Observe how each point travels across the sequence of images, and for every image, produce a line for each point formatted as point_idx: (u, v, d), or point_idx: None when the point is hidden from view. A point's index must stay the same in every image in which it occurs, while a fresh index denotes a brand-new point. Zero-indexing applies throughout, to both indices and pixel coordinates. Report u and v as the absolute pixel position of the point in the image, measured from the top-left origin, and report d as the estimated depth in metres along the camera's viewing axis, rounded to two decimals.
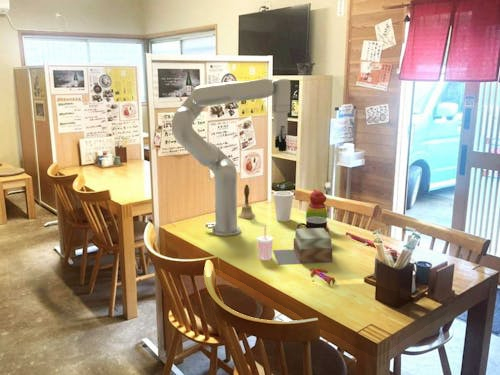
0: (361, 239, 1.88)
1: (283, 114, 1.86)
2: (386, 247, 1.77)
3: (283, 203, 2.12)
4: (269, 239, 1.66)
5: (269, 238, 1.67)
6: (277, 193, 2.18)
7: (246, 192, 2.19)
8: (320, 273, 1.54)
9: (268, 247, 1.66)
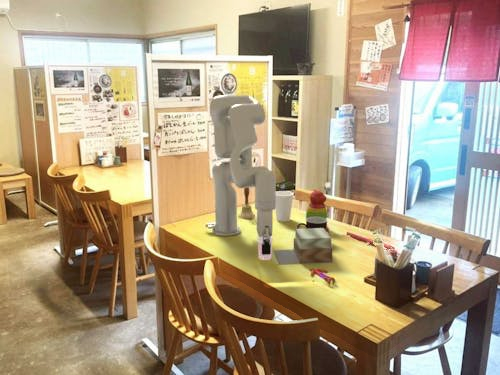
0: (363, 239, 1.88)
1: (267, 212, 1.60)
2: (389, 246, 1.78)
3: (283, 203, 2.12)
4: None
5: None
6: (277, 193, 2.18)
7: (246, 192, 2.19)
8: (320, 273, 1.54)
9: None
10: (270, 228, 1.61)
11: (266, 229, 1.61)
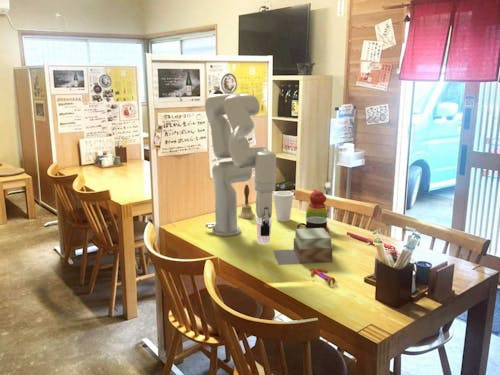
0: (363, 238, 1.88)
1: (267, 194, 1.59)
2: (390, 246, 1.78)
3: (283, 203, 2.12)
4: None
5: None
6: (277, 193, 2.18)
7: (246, 192, 2.19)
8: (320, 273, 1.54)
9: None
10: (269, 210, 1.60)
11: (265, 210, 1.60)
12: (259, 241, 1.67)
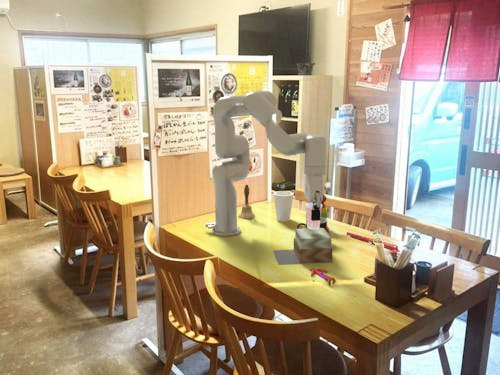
0: (364, 238, 1.89)
1: (318, 177, 1.59)
2: (392, 245, 1.80)
3: (283, 203, 2.12)
4: None
5: None
6: (277, 193, 2.18)
7: (246, 192, 2.19)
8: (320, 273, 1.54)
9: None
10: (321, 193, 1.60)
11: (317, 194, 1.59)
12: (309, 226, 1.66)
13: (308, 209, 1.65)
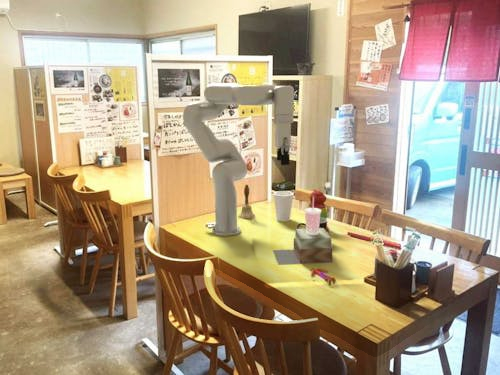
0: (366, 238, 1.90)
1: (286, 124, 1.70)
2: (395, 243, 1.81)
3: (283, 203, 2.12)
4: (317, 211, 1.65)
5: (317, 210, 1.66)
6: (277, 193, 2.18)
7: (246, 192, 2.19)
8: (320, 273, 1.54)
9: (316, 219, 1.65)
10: (288, 140, 1.70)
11: None
12: (308, 231, 1.67)
13: (307, 215, 1.65)
